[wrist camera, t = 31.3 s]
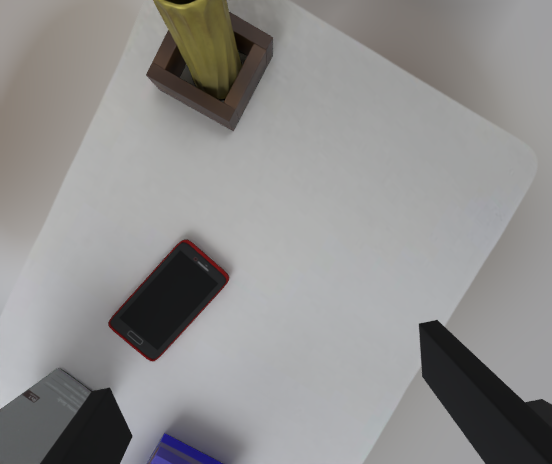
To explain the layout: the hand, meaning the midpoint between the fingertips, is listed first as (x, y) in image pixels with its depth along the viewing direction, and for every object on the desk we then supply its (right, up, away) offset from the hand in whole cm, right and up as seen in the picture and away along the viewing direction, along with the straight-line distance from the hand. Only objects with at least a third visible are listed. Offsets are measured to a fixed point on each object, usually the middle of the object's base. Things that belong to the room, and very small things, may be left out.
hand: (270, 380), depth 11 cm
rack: (-7, +25, +21) cm, 34 cm away
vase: (-7, +25, +21) cm, 34 cm away
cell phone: (-13, -2, +23) cm, 27 cm away
